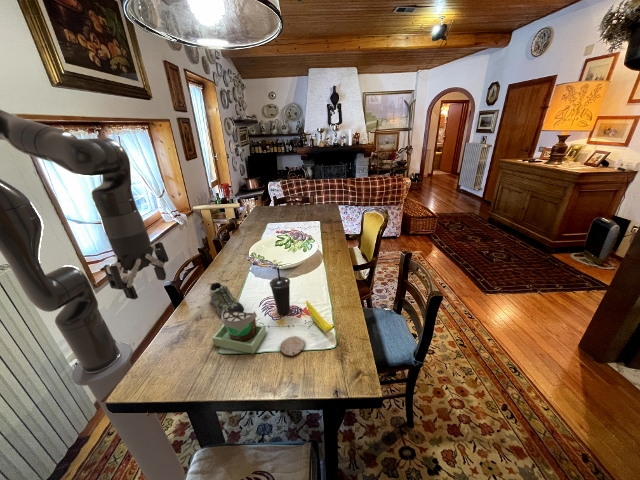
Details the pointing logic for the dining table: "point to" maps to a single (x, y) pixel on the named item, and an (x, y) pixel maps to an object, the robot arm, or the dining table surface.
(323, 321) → the banana
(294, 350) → the flatbread
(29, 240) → the robot arm
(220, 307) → the hiking shoe
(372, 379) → the dining table surface
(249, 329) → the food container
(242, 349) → the holder
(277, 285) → the drinking cup
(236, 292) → the dining table surface
